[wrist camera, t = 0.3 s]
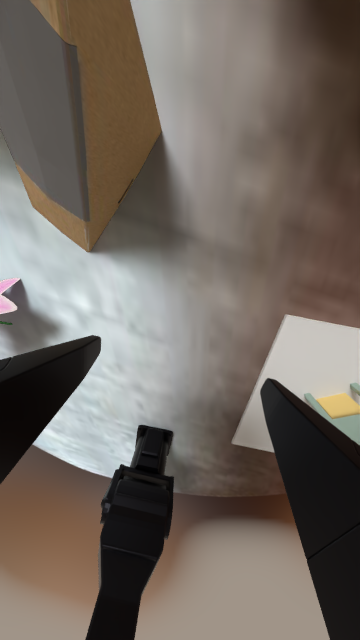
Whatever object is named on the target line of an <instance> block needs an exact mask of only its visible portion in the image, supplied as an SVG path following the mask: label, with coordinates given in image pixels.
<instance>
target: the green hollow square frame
mask: <svg viewBox="0 0 360 640" xmlns="http://www.w3.org/2000/svg"><path fill="white" fill-rule="evenodd" d="M350 388H351V389H352V390H353V391H354V392H356V393H357V394H358V395H359V396H360V385H359V384H357V383H351V384H350ZM304 397H305V399H306V400H307V401H308V403H309V404H310V405H311V407H312V408H313V409H314V410H315V411H316V412H318V413H319V414H320V415H322V416H323V417H324V418H325V419H327V420H328V421H329V422H330V423H332V424H333V425H334V426H336V427H337V428H338V429H339V430H341V431H342V432H343V433H344V434H346V435H347V436H348V437H350V438H351V440H353V441H355V442H356V443H357V444H359V445H360V414H358V415H352V416H347V417H342V418H336V419H331V417H330V416H329V415H328V414H327V413H326V412H325V410H324V409H323V408H322V407H321V406H320V404H319V403H318V402H317V401H316V400H315V399H314V397H313V396H312V395H311V394H310V393H306V394H304Z"/></svg>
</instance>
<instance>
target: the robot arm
mask: <svg viewBox="0 0 360 640" xmlns="http://www.w3.org/2000/svg"><path fill="white" fill-rule="evenodd" d="M100 351H101V338H100V337H99V336H95V335H91V336H88V337H84V338H80V339H76V340H73V341H69V342H65V343H61V344H58V345H54V346H50V347H47V348H43V349H39V350H35V351H32V352H28V353H24V354H21V355H17V356H13V357H9V358H6V359H2V360H0V484H1V483H2V481H3V480H4V479H5V478H6V476H7V475H8V474H9V472H10V471H11V470H12V469H13V468H14V466H15V465H16V464H17V463H18V461H19V460H20V459H21V457H22V456H23V455H24V454H25V452H26V451H27V450H28V449H29V447H30V446H31V445H32V444H33V442H34V441H35V440H36V439H37V437H38V436H39V435H40V434H41V432H42V431H43V430H44V428H45V427H46V426H47V425H48V423H49V422H50V421H51V420H52V418H53V417H54V416H55V415H56V413H57V412H58V411H59V410H60V408H61V407H62V406H63V404H64V403H65V402H66V401H67V399H68V398H69V397H70V396H71V394H72V393H73V392H74V391H75V389H76V388H77V387H78V386H79V384H80V383H81V382H82V380H83V379H84V378H85V376H86V375H87V373H88V371H89V370H90V368H91V367H92V365H93V364H94V362H95V360H96V359H97V357H98V356H99V354H100ZM260 396H261V401H262V406H263V411H264V417H265V421H266V425H267V429H268V432H269V435H270V439H271V442H272V445H273V449H274V452H275V456H276V459H277V462H278V466H279V469H280V472H281V476H282V479H283V482H284V486H285V489H286V493H287V496H288V499H289V503H290V506H291V509H292V512H293V516H294V519H295V523H296V526H297V529H298V533H299V536H300V540H301V543H302V546H303V549H304V553H305V556H306V559H307V563H308V567H309V570H310V574H311V577H312V580H313V584H314V587H315V590H316V593H317V597H318V600H319V604H320V607H321V610H322V614H323V617H324V621H325V624H326V627H327V631H328V634H329V637H330V640H360V445H359V444H357V443H356V442H355V441H353V440H351V438H350V437H348V436H347V435H346V434H344V433H343V432H342V431H341V430H339V429H338V428H337V427H336V426H334V425H333V424H332V423H330V422H329V421H328V420H327V419H325V418H324V417H323V416H322V415H320V414H319V413H318V412H316V411H315V410H314V409H313V408H311V407H310V406H309V405H308V404H306V403H305V402H304V401H302V400H301V399H300V398H299V397H297V396H296V395H295V394H294V393H292V392H291V391H290V390H288V389H287V388H286V387H285V386H283V385H282V384H281V383H279V382H278V381H277V380H275V379H271V378H267V379H266V380H265V382H264V384H263V386H262V387H261V390H260ZM172 437H173V432H172V431H167V430H163V429H158V428H153V427H148V426H143V425H139V426H138V430H137V438H136V446H135V452H134V455H133V458H132V462H131V465H130V467H128V466H124V465H123V464H121V465H120V468H119V469H118V470H115V473H114V476H113V478H112V481H111V483H110V485H109V488H108V490H107V491H106V494H105V495H104V497H103V500H102V502H101V507H102V517H101V522H100V524H103V525H104V526H103V529H102V532H101V536H100V544H99V553H98V567H99V595H98V598H97V601H96V605H95V608H94V612H93V615H92V619H91V622H90V626H89V629H88V633H87V637H86V640H134V638H135V632H136V626H137V618H138V612H139V606H140V600H141V596H142V594H143V592H144V590H145V587H146V586H147V584H148V582H149V580H150V578H151V576H152V574H153V572H154V570H155V568H156V565H157V563H158V561H159V558H160V556H161V554H162V551H163V546H164V539H166V540H167V539H168V536H169V532H170V526H171V519H172V509H173V487H174V477H173V476H170V477H169V476H165V475H164V472H165V465H166V458H167V456H168V454H169V449H170V445H171V441H172Z"/></svg>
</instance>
